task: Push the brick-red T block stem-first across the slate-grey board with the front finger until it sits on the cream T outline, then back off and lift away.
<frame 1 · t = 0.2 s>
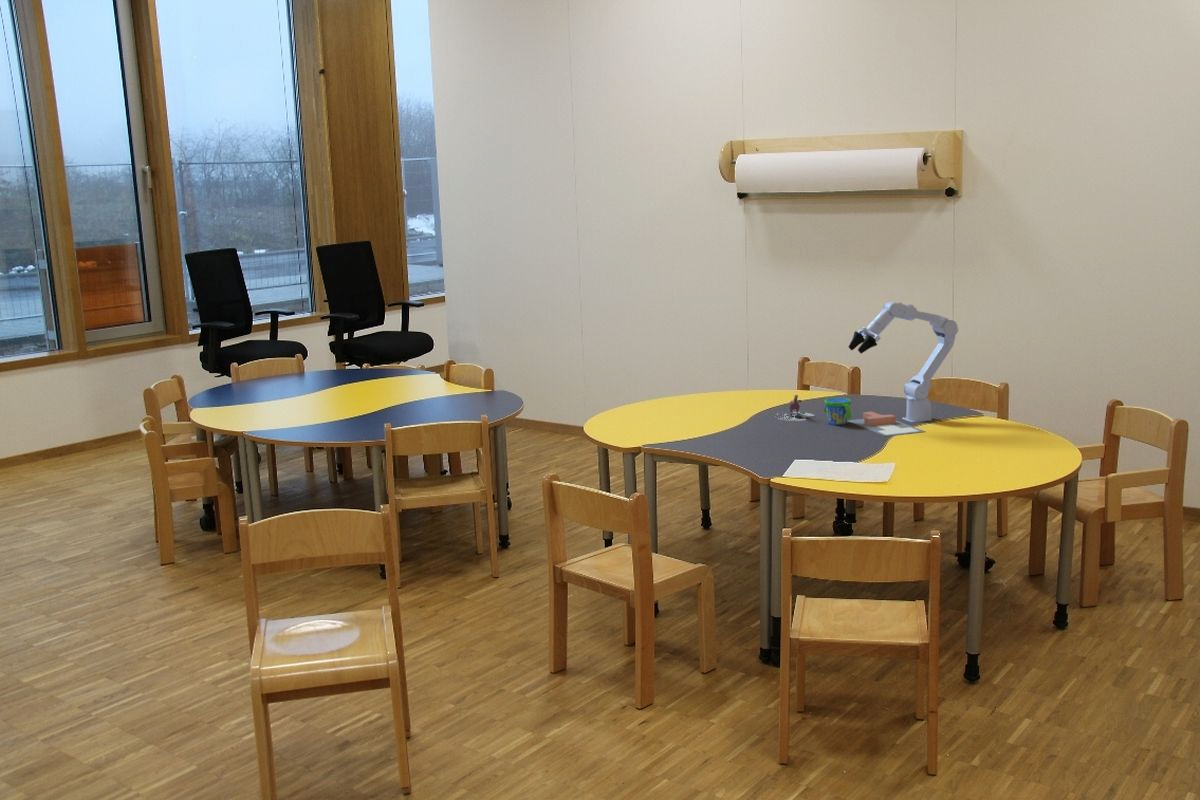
hand: (854, 350, 454), 31 cm above the table, tool tilted 45°, fingers open, 7 cm apart
snack cup: (837, 424, 465), on the table
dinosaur: (794, 417, 482), on the table
t block: (876, 422, 464), resting on t board
t board: (885, 426, 458), on the table
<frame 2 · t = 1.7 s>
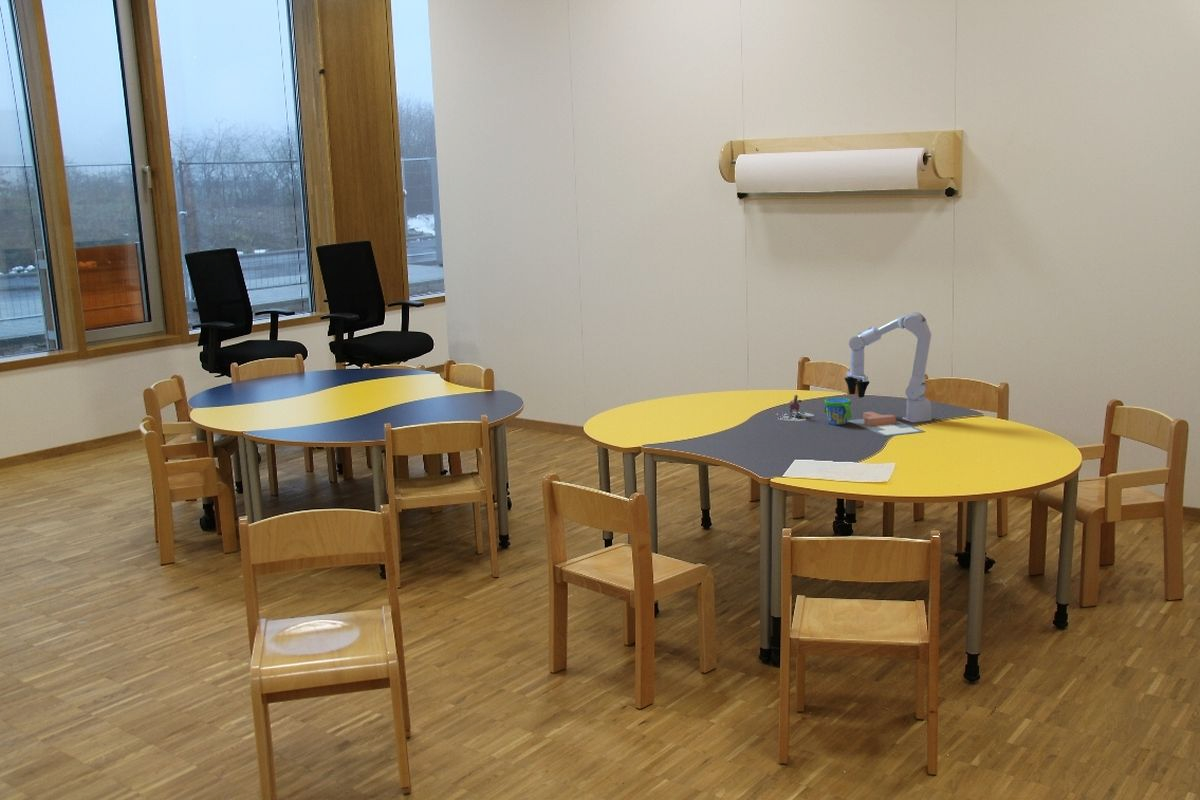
hand: (856, 395, 477), 9 cm above the table, tool pointing down, fingers open, 7 cm apart
nothing on the table moved.
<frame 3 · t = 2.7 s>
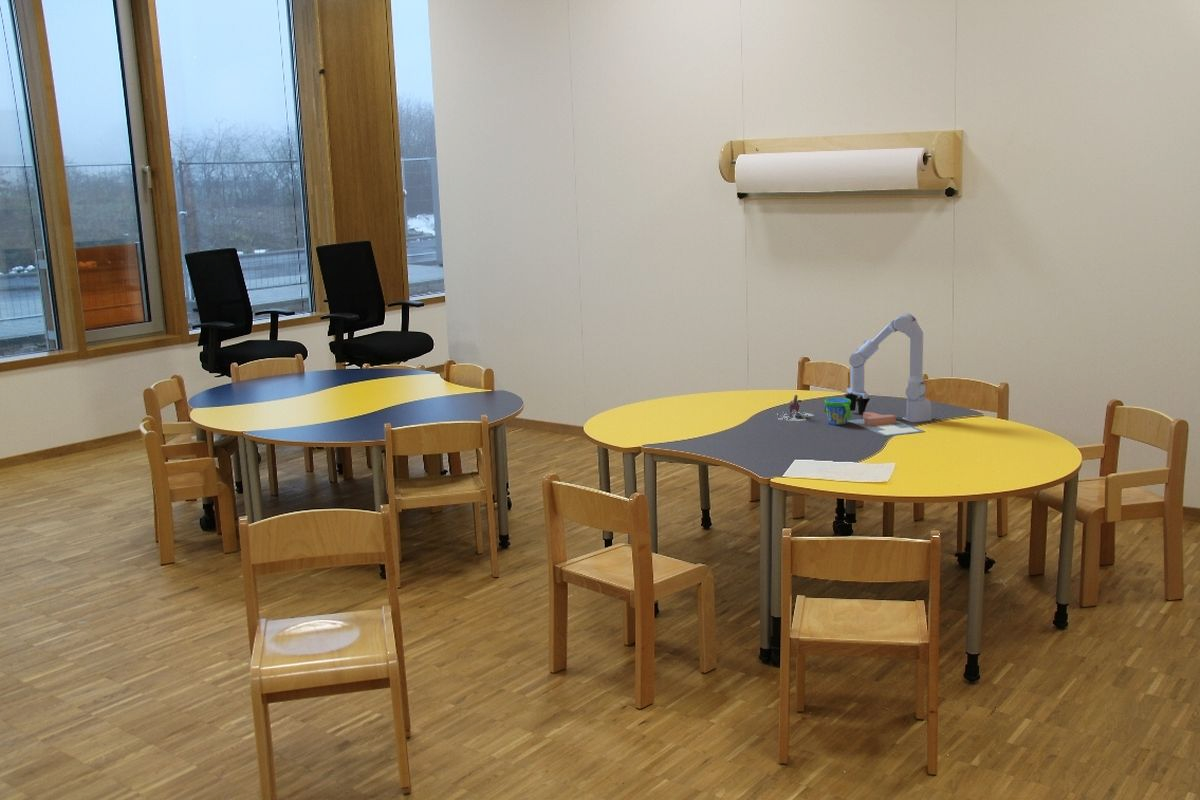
hand: (856, 412, 479), 1 cm above the table, tool pointing down, fingers open, 7 cm apart
nothing on the table moved.
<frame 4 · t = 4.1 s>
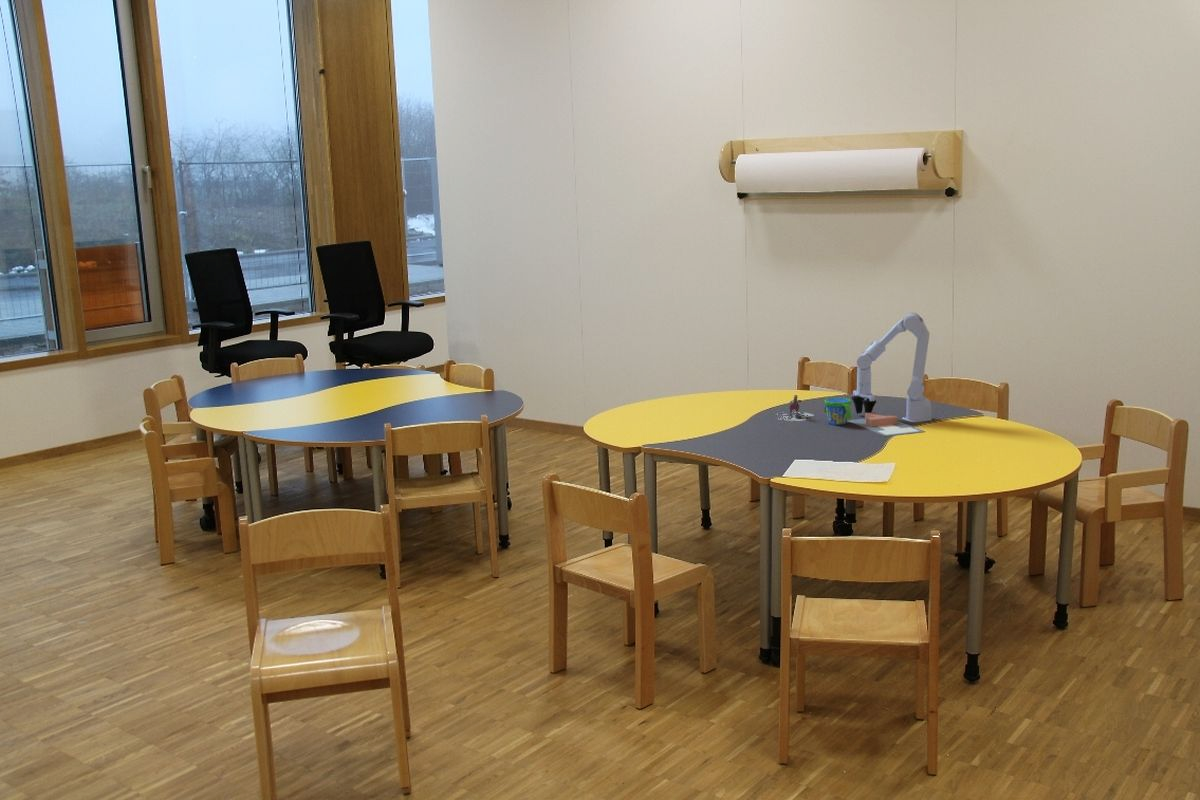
hand: (863, 414, 473), 1 cm above the table, tool pointing down, fingers open, 7 cm apart
t block: (877, 422, 463), resting on t board, touching gripper
everything else where it was.
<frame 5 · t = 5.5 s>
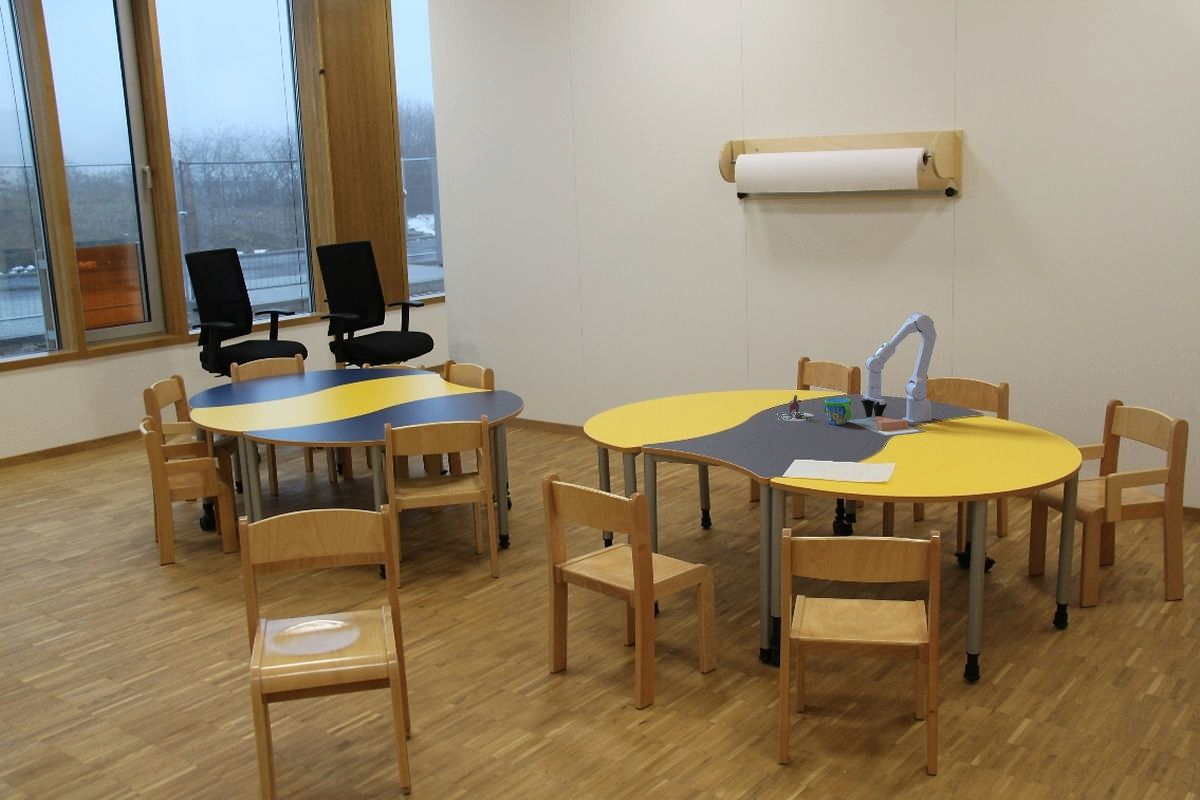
hand: (873, 418, 466), 1 cm above the table, tool pointing down, fingers open, 7 cm apart
t block: (888, 426, 455), point 1 cm above the table
everything else where it was.
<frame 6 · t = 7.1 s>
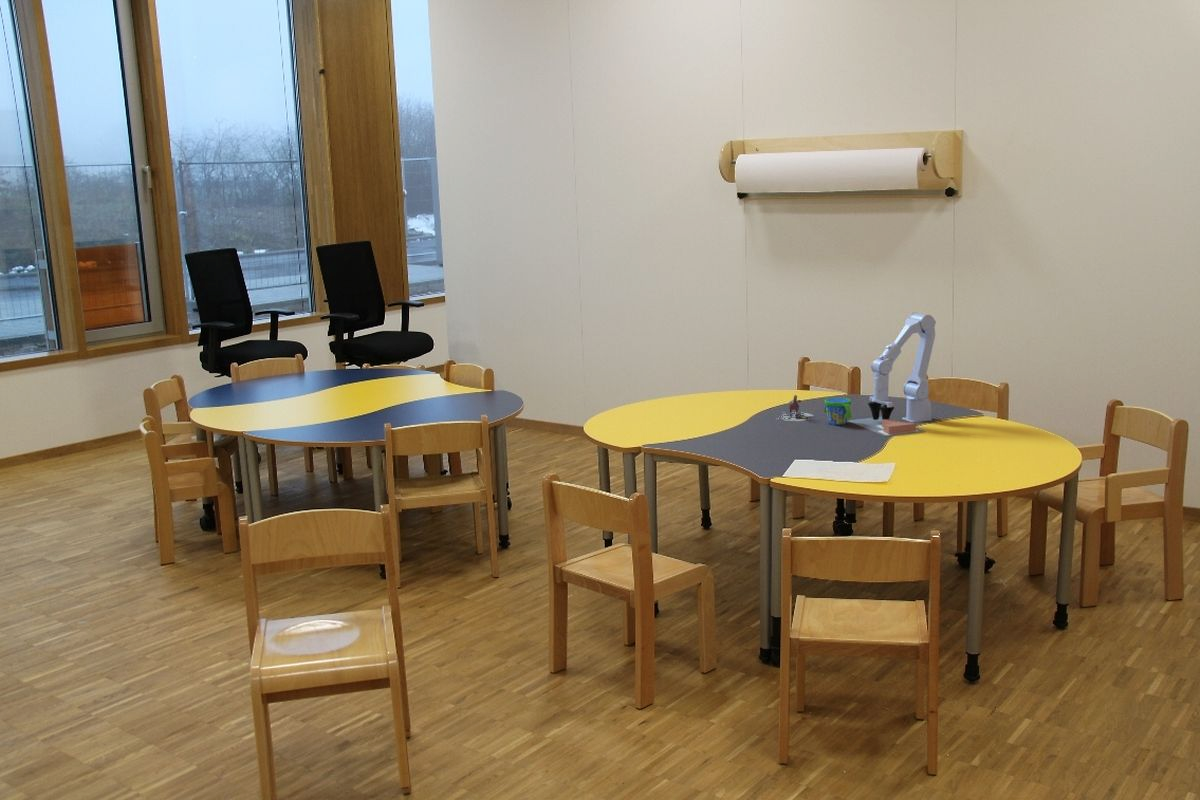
hand: (880, 421, 461), 1 cm above the table, tool pointing down, fingers open, 7 cm apart
t block: (895, 429, 450), resting on t board, touching gripper
everything else where it was.
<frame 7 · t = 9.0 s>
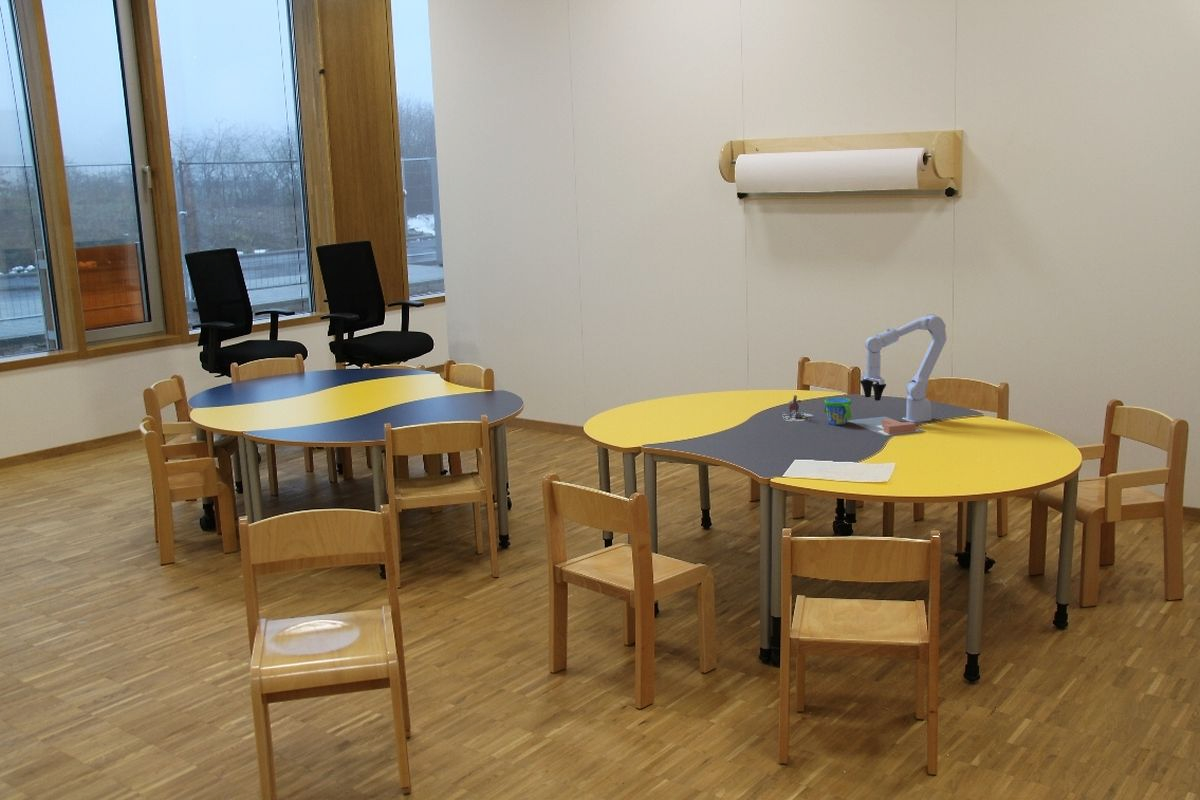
hand: (872, 398, 466), 9 cm above the table, tool pointing down, fingers open, 7 cm apart
t block: (895, 430, 450), resting on t board
everything else where it was.
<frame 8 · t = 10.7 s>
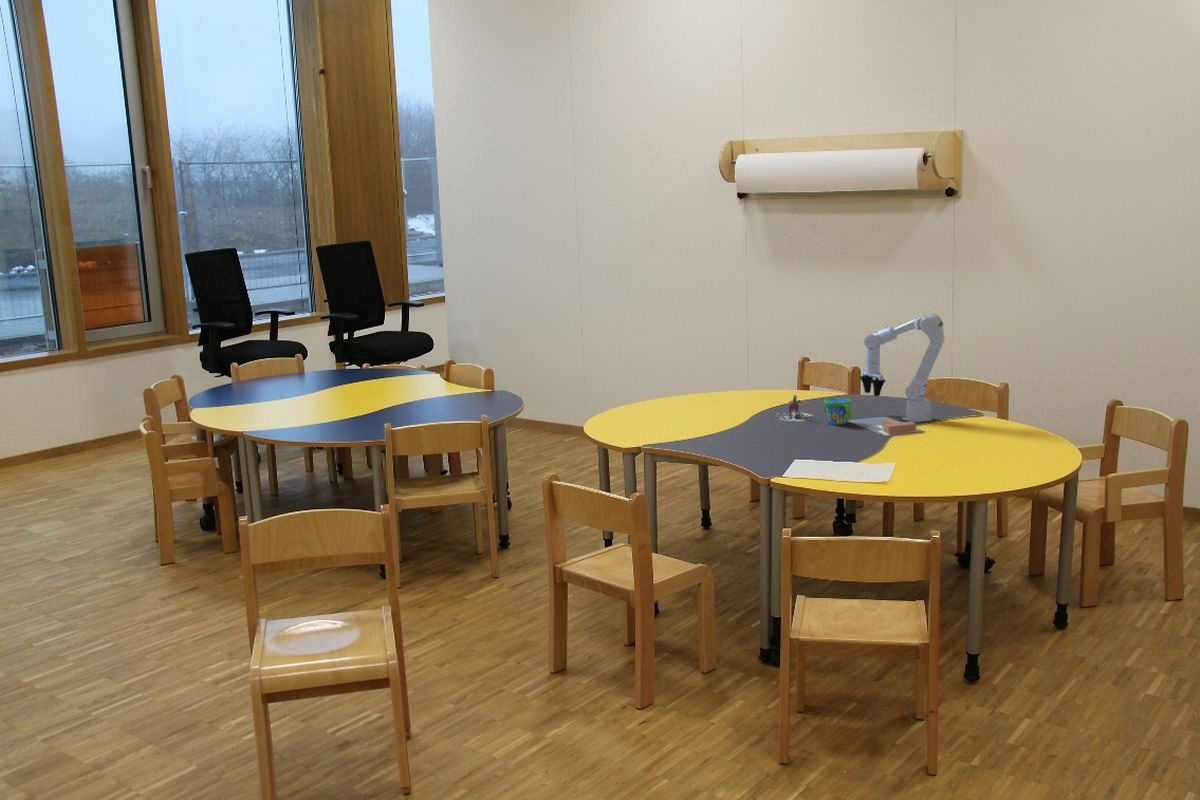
hand: (872, 394, 475), 9 cm above the table, tool pointing down, fingers open, 7 cm apart
nothing on the table moved.
at the end: t block inside the target area (0.9 cm from its centre), resting on t board; t block moved 15.1 cm from its start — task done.
